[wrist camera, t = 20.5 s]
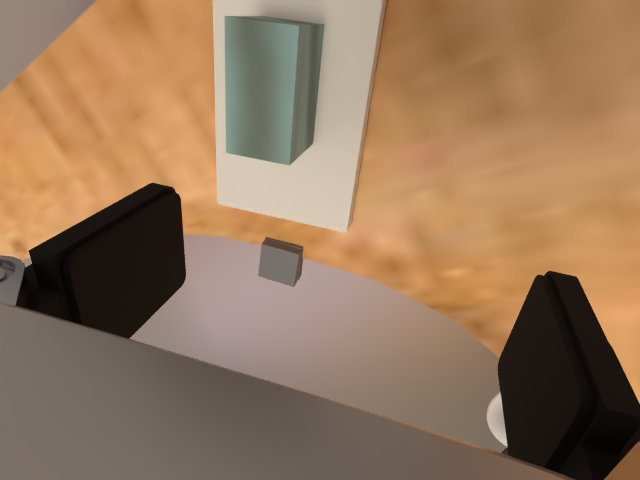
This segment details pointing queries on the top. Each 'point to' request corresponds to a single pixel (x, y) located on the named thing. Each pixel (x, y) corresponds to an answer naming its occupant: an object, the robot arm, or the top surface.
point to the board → (330, 123)
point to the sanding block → (271, 86)
